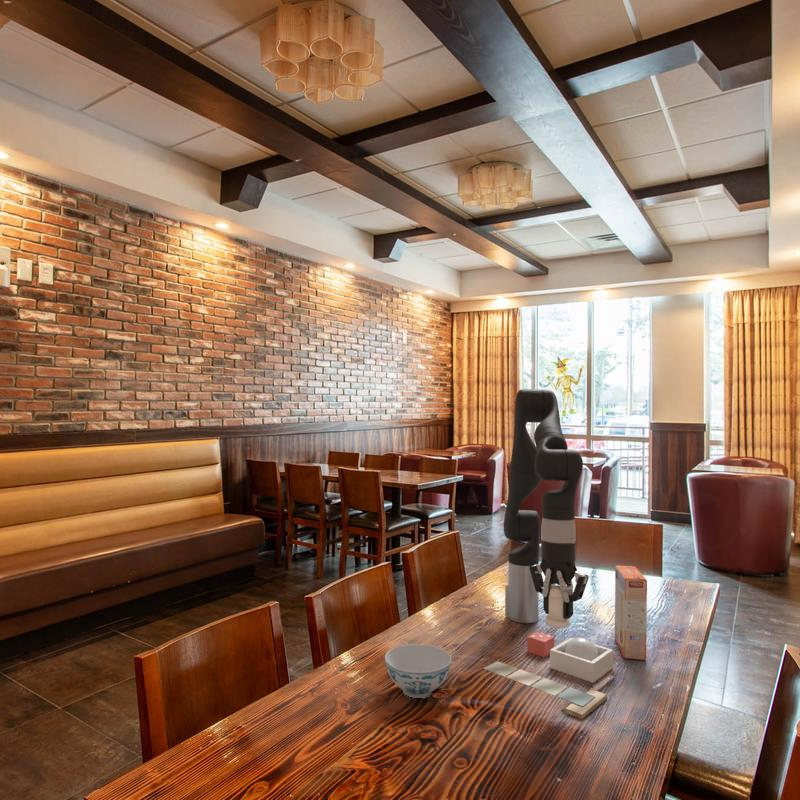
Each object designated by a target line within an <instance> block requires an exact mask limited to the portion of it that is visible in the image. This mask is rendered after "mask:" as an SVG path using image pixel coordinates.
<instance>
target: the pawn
mask: <svg viewBox="0 0 800 800" xmlns="http://www.w3.org/2000/svg"><path fill="white" fill-rule="evenodd" d="M563 602H565V600H564V596H563V592H562V591H561V588H560V585H558V584H556V585H555V586H553V587H552V588H551V589H550V594H549V614H546V616H545V624H546V625H547V626H549V627H551V628H557V629H559V628H560V629H564V628H570V626H571V618H569V619H564V617H563Z"/></svg>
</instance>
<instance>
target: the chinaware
mask: <svg viewBox="0 0 800 800" xmlns="http://www.w3.org/2000/svg"><path fill="white" fill-rule="evenodd" d="M384 661H385V666H386V670H387V672H388V675H389V677H390V678H391V680H392V681H393V683H394V684H395V685H396V686H397V688H398V689H401V690H402V692H403V694H404V695H405V696H406V695H407V696H406V697H408V696H409V697H408V698H410V697H413V698H412V699H414V698H423V699H427V698H429V697H431V696H432V695H433V693H434V692H433V691H436V689H438V688H439V687H440V686H441V685H442V684H443V683H444V681H445V680H446V678H447V677H448V674H449V672H450V669H451V664H452V656H451V655H450V653H449V652H448V651H446V650H445V649H443V648H441V647H439V646H434V645H430V644H425V643H412V644H411V643H410V644H409V643H408V644H402V645H398V646H395V647H393V648H391V649H389V650H388V651H386V652H385V655H384ZM430 695H431V696H430ZM426 697H427V698H426Z"/></svg>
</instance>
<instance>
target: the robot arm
mask: <svg viewBox="0 0 800 800" xmlns="http://www.w3.org/2000/svg"><path fill="white" fill-rule="evenodd" d="M514 400H515V402H514V420H513V421H514V426H513V443H512V451H511V459H510V467H509V478H508V479H509V480H508V481H509V483H508V495H507V500H506V506H505V513H504V518H503V532H504V533H503V535H504V536H505V538H506V539H507V540H510V541H526V542H525V544H524V545H522V546H520V547H519V548H515V549H512V550H511V551H509V553H508V555H507V556H508V557H507V558H508V559H507V561H508V566H507V567H508V568H507V569H508V570H507V571H508V575H507V577H508V580H507V585H505V593H504V594H505V595H504V596H505V597H504V598H505V600H504V602H505V603H504V604H505V605H504V607H505V609H504V610H505V611H504V617H505V616H506V617H505V618H508V620H510V621H512V622H515V623H519V624H533V623H536V622H538V621H539V613H540V612H539V608H540V607H539V606H540V605H539V603H540V602H539V601H540V600H539V599H540V598H539V594H541V595H542V597H543V599H542V600H543V601H542V602H543V607H542V608H543V612H544V614H546V615H549V594H550V589H551V588H552V587H553V586H556V585H558V586H560V588H561V591H562V592H563V596H564V600H565V602H563V617H564V619H571V617H573V616H574V602H577V601H579V600H582V598H583V597H584V593H585V591H586V587H587V584H588V582H589V575H588V574H586V573H585V574H583V573H582V572H580V571H578V568H577V567H576V559H577V557H576V555H577V554H576V553H577V551H576V549H577V547H576V545H577V544H576V539H577V533H576V531H577V530H576V524H575V523H576V522H575V515H576V514H575V503H576V502H575V501H576V500H575V499H576V494H577V489H578V486H579V482H580V479H581V476H582V472H583V470H584V469H583V467H584V462H583V458H582V457H583V456H581V453H579V451H577V450H575V449H568V443H567V441H566V437H565V436H564V433H563V430H562V426H561V416H560V409H559V404H558V399H557V396H556V393H555V392H554V391H553V390H550V389H545V388H544V389H543V388H542V389H540V388H539V389H538V388H523V389H522V388H521V389H519V390H518V391H517V393H516V397H515V399H514ZM528 423H539V424H538V425H537V426H536V428H535V430H534V433H533V437H534V441H533V439H532V438H531V436H530V433H529V432H528V429H527V424H528ZM541 481H556V482H557V481H558V482H559V481H560V482H564V484H563V485H562V486H561V487H560V488H559V489H554V490H550V491H546V492H544V493H543V495H542V500H541V502H542V503H541V505H542V507H541V511H542V512H541V513H542V514H541V515H542V519H541V518H540V514H539V513H538V512H537V510H532V509H530V510H529V509H528V510H527V509H520V508H521V506H522V504H523V503H524V502H525V501H526V500H527V498H529V497H530V496H531V494H532V493H533V492H534V491H535V490H536V489H537V488H538V486H539V485H540V483H541ZM539 556H540V557H539ZM539 558H541V560H540V559H539ZM539 562H540V563H539ZM542 573H543V574H544V578H543V574H542ZM574 578H575V581H574V582H575V583H576V584H575V587H574V584H573V579H574Z"/></svg>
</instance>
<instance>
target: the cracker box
mask: <svg viewBox="0 0 800 800" xmlns="http://www.w3.org/2000/svg"><path fill="white" fill-rule="evenodd" d="M614 567H615V568H614V569H615V572H614V573H615V574H614V575H615V576H614V577H615V579H614V581H615V582H614V583H615V584H614V585H615V586H614V587H615V588H614V590H615V591H614V640H615V642H616V644H617V647H618V648H619V649H618V650H619V652H621V655H622V657H623V659H627V660H637V661H638V660H639V661H647V619H648V618H647V616H648V615H647V611H648V610H647V607H648V604H647V601H648V580H647V578H645V576H644V575H643V574H642V572H640V570H639V569H638V568H637V567H636V566H634V565H633V566H632V565H615V566H614Z"/></svg>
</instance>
